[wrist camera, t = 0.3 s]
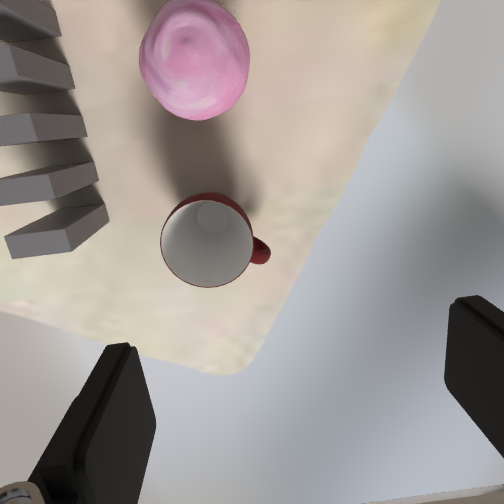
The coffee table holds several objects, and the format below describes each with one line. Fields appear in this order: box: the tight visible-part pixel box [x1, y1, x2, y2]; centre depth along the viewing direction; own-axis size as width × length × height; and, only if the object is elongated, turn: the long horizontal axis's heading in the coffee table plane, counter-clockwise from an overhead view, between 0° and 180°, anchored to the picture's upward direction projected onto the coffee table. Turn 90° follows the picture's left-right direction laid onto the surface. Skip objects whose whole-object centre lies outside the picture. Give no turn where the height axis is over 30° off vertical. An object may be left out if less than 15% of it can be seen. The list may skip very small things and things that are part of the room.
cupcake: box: [139, 0, 250, 121], centre depth 31 cm, size 9×9×10 cm
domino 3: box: [0, 113, 88, 146], centre depth 32 cm, size 2×5×10 cm, turn 96°
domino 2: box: [0, 44, 75, 95], centre depth 30 cm, size 2×5×10 cm, turn 96°
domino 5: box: [4, 204, 109, 259], centre depth 35 cm, size 2×5×10 cm, turn 97°
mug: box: [160, 193, 271, 288], centre depth 36 cm, size 11×8×10 cm
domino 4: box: [0, 162, 99, 206], centre depth 33 cm, size 2×5×10 cm, turn 97°
